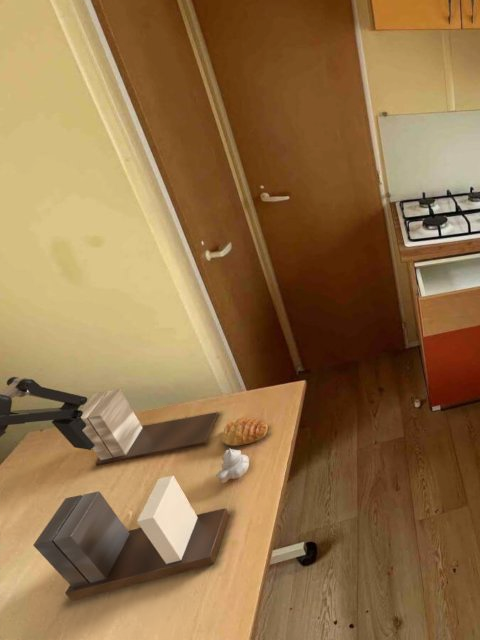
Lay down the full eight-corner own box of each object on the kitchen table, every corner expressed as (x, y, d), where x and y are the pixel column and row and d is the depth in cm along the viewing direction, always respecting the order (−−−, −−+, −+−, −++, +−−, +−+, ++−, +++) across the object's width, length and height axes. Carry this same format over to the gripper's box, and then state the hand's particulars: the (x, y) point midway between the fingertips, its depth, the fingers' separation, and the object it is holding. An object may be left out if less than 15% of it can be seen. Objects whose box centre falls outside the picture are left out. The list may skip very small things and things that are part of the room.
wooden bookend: (96, 466, 96) (67, 423, 90) (119, 433, 104) (93, 391, 98) (205, 444, 101) (184, 402, 95) (218, 414, 109) (200, 374, 103)
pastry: (273, 422, 107) (269, 412, 105) (261, 445, 101) (257, 435, 99) (235, 425, 106) (230, 414, 104) (221, 448, 100) (215, 437, 99)
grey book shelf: (71, 601, 73) (24, 551, 66) (102, 545, 81) (63, 495, 74) (214, 564, 78) (184, 514, 71) (230, 515, 86) (204, 465, 79)
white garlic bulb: (258, 466, 96) (247, 443, 92) (230, 492, 91) (219, 468, 87) (241, 458, 98) (230, 434, 94) (214, 482, 93) (201, 458, 89)
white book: (166, 564, 76) (136, 521, 70) (184, 520, 83) (158, 478, 77) (181, 560, 77) (153, 517, 71) (197, 517, 83) (173, 475, 77)
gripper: (-205, 515, 37) (-44, 603, 49) (71, 324, 58) (138, 418, 70) (-279, 502, 38) (-101, 592, 50) (21, 317, 58) (96, 412, 70)
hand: (39, 490), depth 60 cm, fingers open, 13 cm apart
